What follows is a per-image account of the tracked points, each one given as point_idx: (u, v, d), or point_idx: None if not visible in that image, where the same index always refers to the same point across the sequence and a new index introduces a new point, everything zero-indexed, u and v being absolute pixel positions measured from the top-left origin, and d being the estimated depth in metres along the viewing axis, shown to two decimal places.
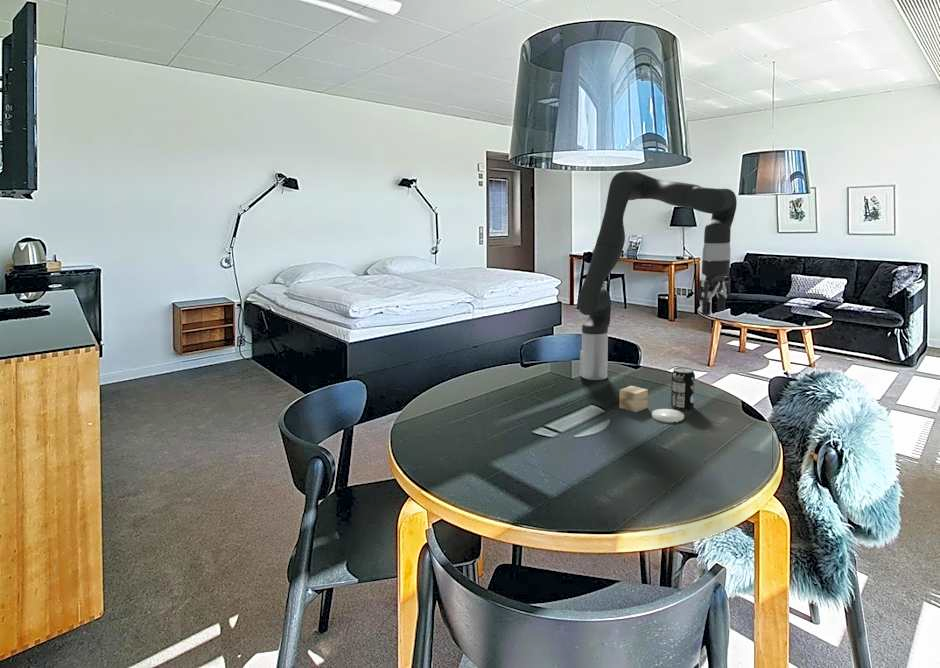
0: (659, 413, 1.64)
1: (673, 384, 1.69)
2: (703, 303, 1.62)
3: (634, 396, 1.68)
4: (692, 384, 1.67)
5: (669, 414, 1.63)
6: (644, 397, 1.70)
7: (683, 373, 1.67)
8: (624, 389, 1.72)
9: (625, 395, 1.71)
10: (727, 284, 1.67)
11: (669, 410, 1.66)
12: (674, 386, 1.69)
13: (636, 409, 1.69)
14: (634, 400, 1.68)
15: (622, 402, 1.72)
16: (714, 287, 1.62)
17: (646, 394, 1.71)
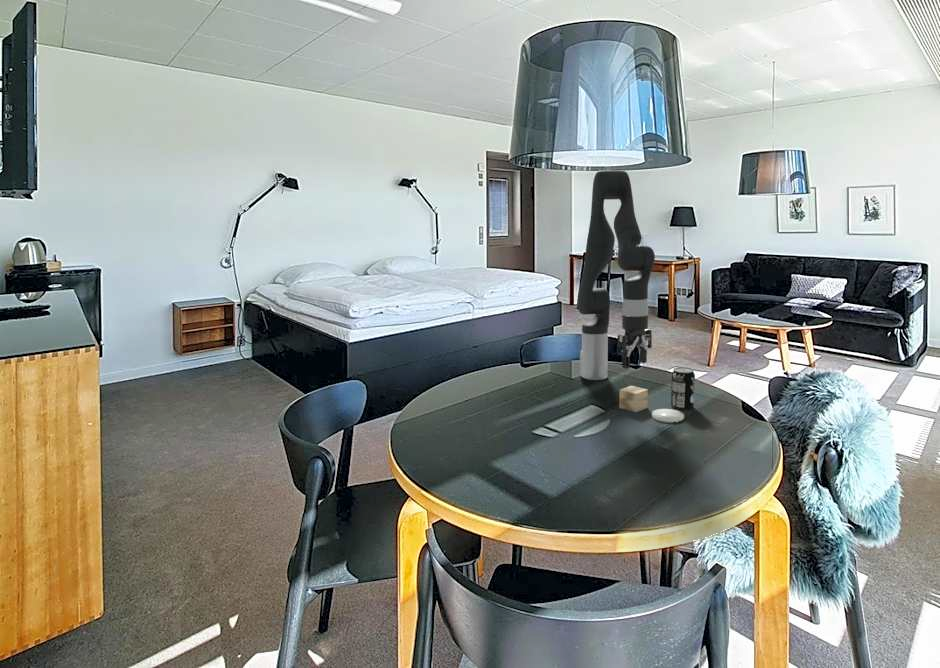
0: (659, 413, 1.64)
1: (673, 384, 1.69)
2: (622, 357, 1.66)
3: (634, 396, 1.68)
4: (692, 384, 1.67)
5: (669, 414, 1.63)
6: (644, 397, 1.70)
7: (683, 373, 1.67)
8: (624, 389, 1.72)
9: (625, 395, 1.71)
10: (648, 337, 1.71)
11: (669, 410, 1.66)
12: (674, 386, 1.69)
13: (636, 409, 1.69)
14: (634, 400, 1.68)
15: (622, 402, 1.72)
16: (633, 341, 1.66)
17: (646, 394, 1.71)
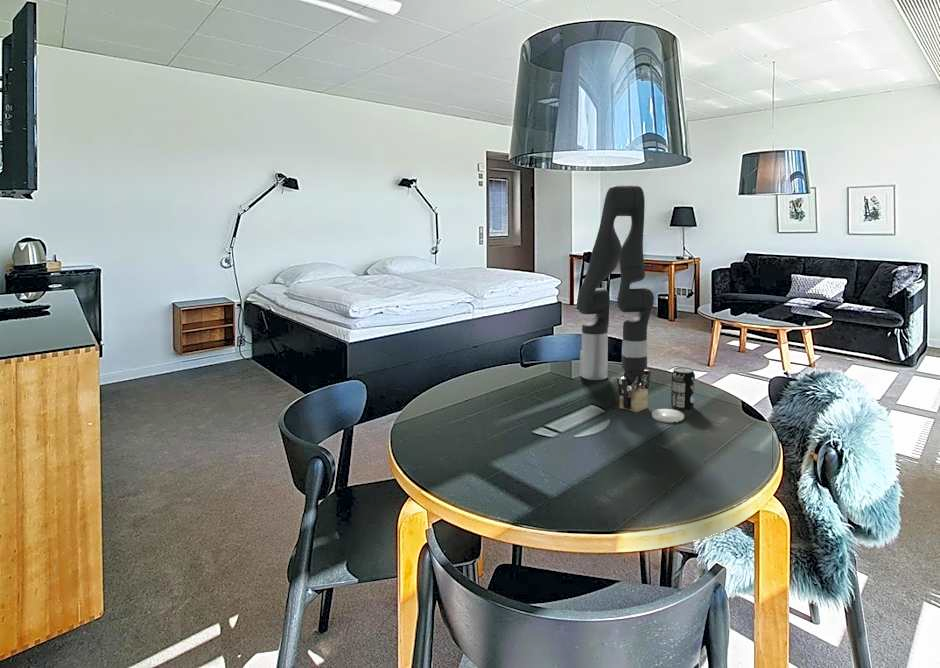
0: (659, 413, 1.64)
1: (673, 384, 1.69)
2: (624, 398, 1.69)
3: (634, 396, 1.68)
4: (692, 384, 1.67)
5: (669, 414, 1.63)
6: (644, 397, 1.70)
7: (683, 373, 1.67)
8: None
9: None
10: (646, 378, 1.73)
11: (669, 410, 1.66)
12: (674, 386, 1.69)
13: (636, 409, 1.69)
14: (634, 400, 1.68)
15: (622, 402, 1.72)
16: (632, 382, 1.68)
17: (647, 393, 1.71)
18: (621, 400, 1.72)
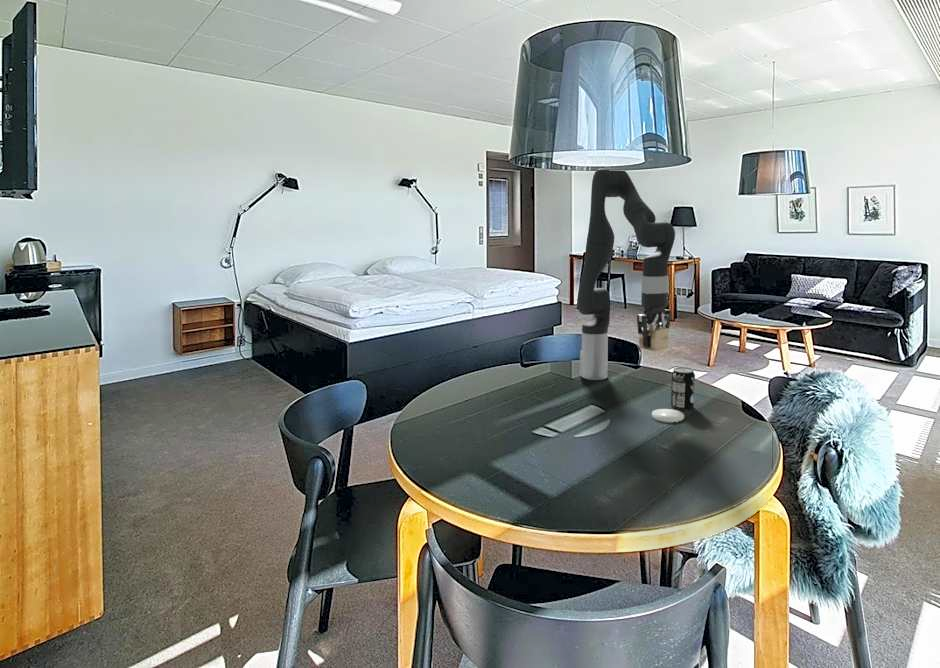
0: (659, 413, 1.64)
1: (673, 384, 1.69)
2: (644, 336, 1.65)
3: (654, 334, 1.63)
4: (692, 384, 1.67)
5: (669, 414, 1.63)
6: (665, 336, 1.66)
7: (683, 373, 1.67)
8: None
9: None
10: (667, 317, 1.69)
11: (669, 410, 1.66)
12: (674, 386, 1.69)
13: (656, 347, 1.64)
14: (654, 338, 1.64)
15: (642, 341, 1.67)
16: (653, 320, 1.64)
17: (667, 333, 1.66)
18: (641, 340, 1.68)
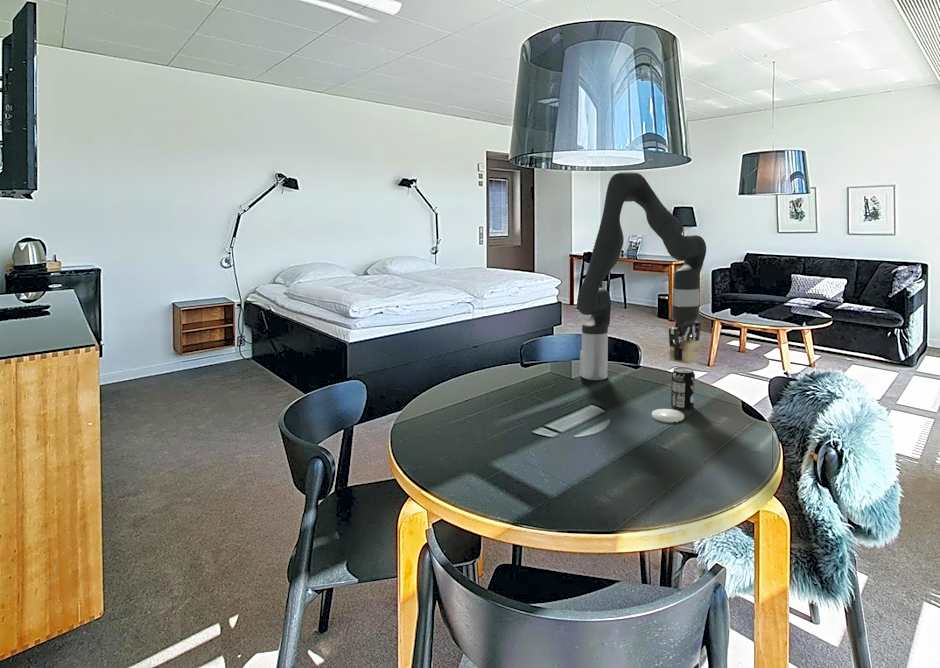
0: (659, 413, 1.64)
1: (673, 384, 1.69)
2: (675, 349, 1.65)
3: (686, 346, 1.64)
4: (692, 384, 1.67)
5: (669, 414, 1.63)
6: (696, 348, 1.66)
7: (683, 373, 1.67)
8: None
9: None
10: (697, 329, 1.69)
11: (669, 410, 1.66)
12: (674, 386, 1.69)
13: (688, 360, 1.64)
14: (686, 351, 1.64)
15: (673, 354, 1.68)
16: (684, 333, 1.64)
17: (698, 345, 1.67)
18: (671, 352, 1.68)
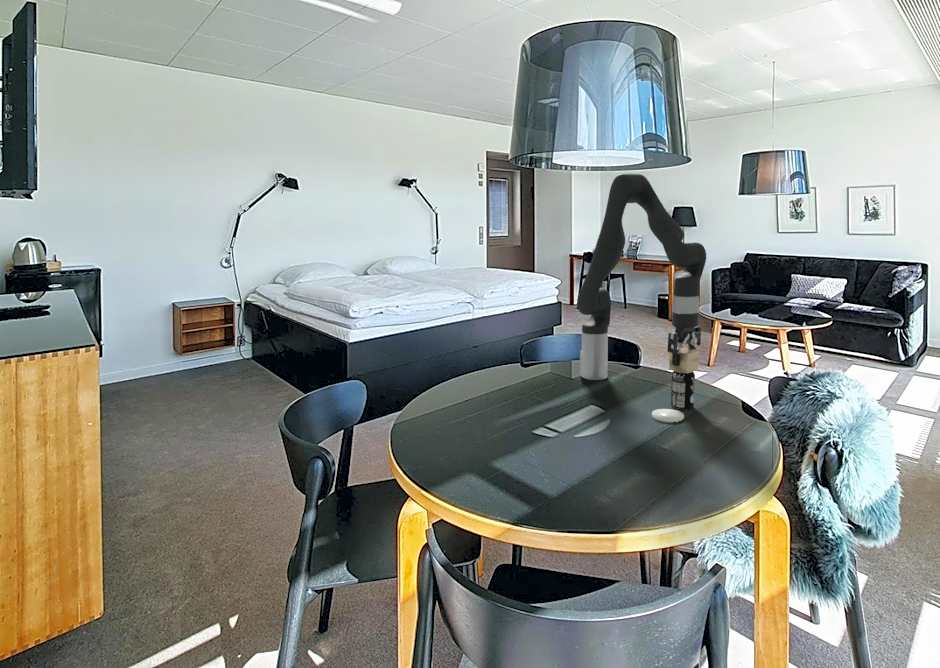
0: (659, 413, 1.64)
1: (673, 384, 1.69)
2: (673, 354, 1.65)
3: (686, 356, 1.64)
4: (692, 384, 1.67)
5: (669, 414, 1.63)
6: (695, 358, 1.67)
7: (683, 373, 1.67)
8: None
9: None
10: (697, 334, 1.70)
11: (669, 410, 1.66)
12: (674, 386, 1.69)
13: (687, 370, 1.65)
14: (685, 360, 1.65)
15: None
16: (683, 339, 1.64)
17: (697, 355, 1.67)
18: (671, 362, 1.69)
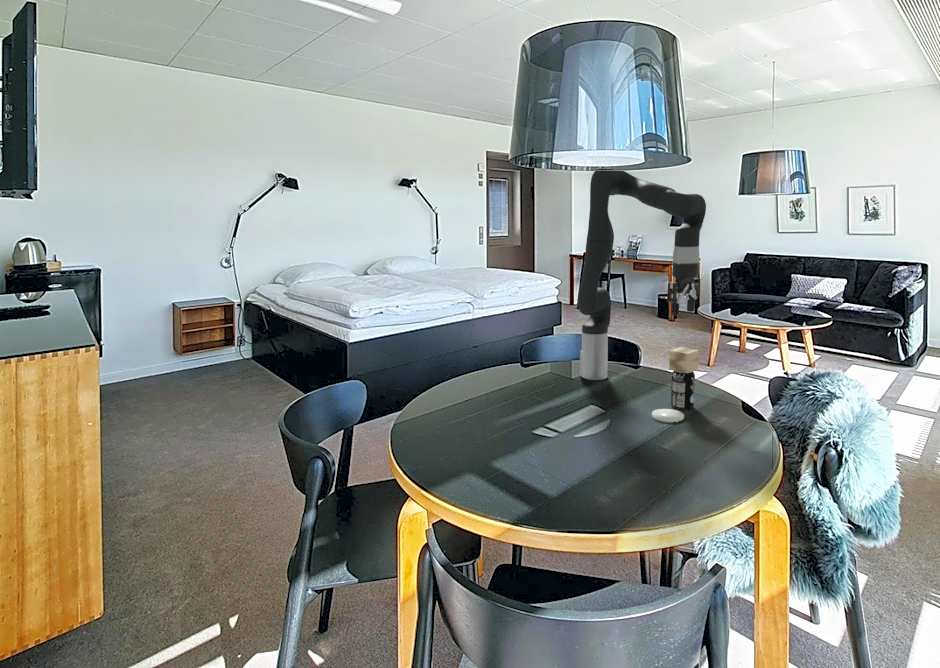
0: (659, 413, 1.64)
1: (673, 384, 1.69)
2: (672, 304, 1.69)
3: (686, 356, 1.64)
4: (692, 384, 1.67)
5: (669, 414, 1.63)
6: (695, 358, 1.67)
7: (683, 373, 1.67)
8: (674, 350, 1.68)
9: (676, 356, 1.67)
10: (697, 286, 1.74)
11: (669, 410, 1.66)
12: (674, 386, 1.69)
13: (687, 370, 1.65)
14: (685, 360, 1.65)
15: (672, 363, 1.68)
16: (683, 289, 1.68)
17: (697, 354, 1.67)
18: (671, 362, 1.69)
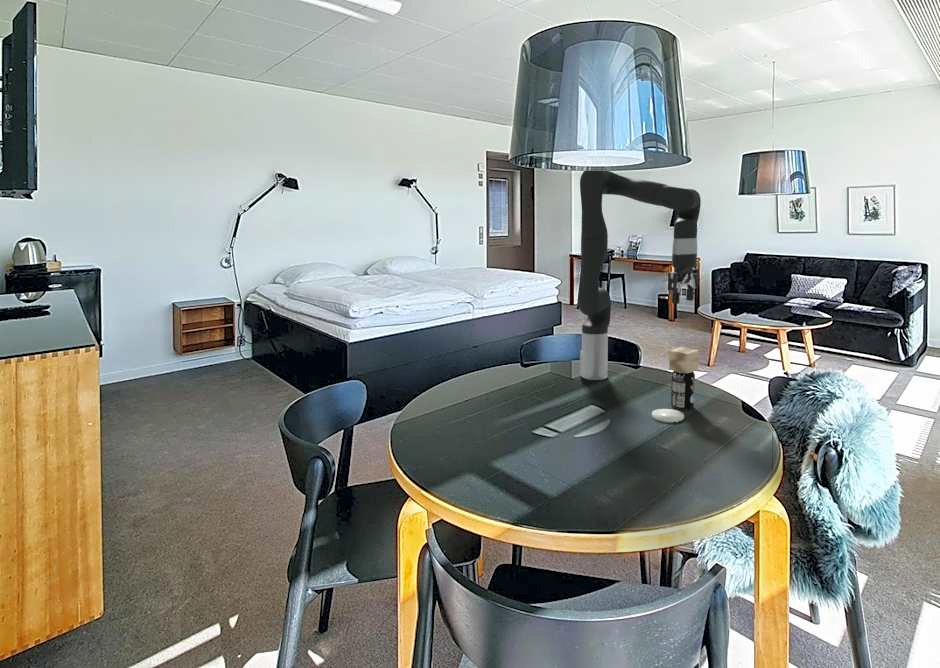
0: (659, 413, 1.64)
1: (673, 384, 1.69)
2: (673, 293, 1.79)
3: (686, 356, 1.64)
4: (692, 384, 1.67)
5: (669, 414, 1.63)
6: (695, 358, 1.67)
7: (683, 373, 1.67)
8: (674, 350, 1.68)
9: (676, 356, 1.67)
10: (695, 276, 1.83)
11: (669, 410, 1.66)
12: (674, 386, 1.69)
13: (687, 370, 1.65)
14: (685, 360, 1.65)
15: (672, 363, 1.68)
16: (682, 278, 1.78)
17: (697, 355, 1.67)
18: (671, 362, 1.69)
